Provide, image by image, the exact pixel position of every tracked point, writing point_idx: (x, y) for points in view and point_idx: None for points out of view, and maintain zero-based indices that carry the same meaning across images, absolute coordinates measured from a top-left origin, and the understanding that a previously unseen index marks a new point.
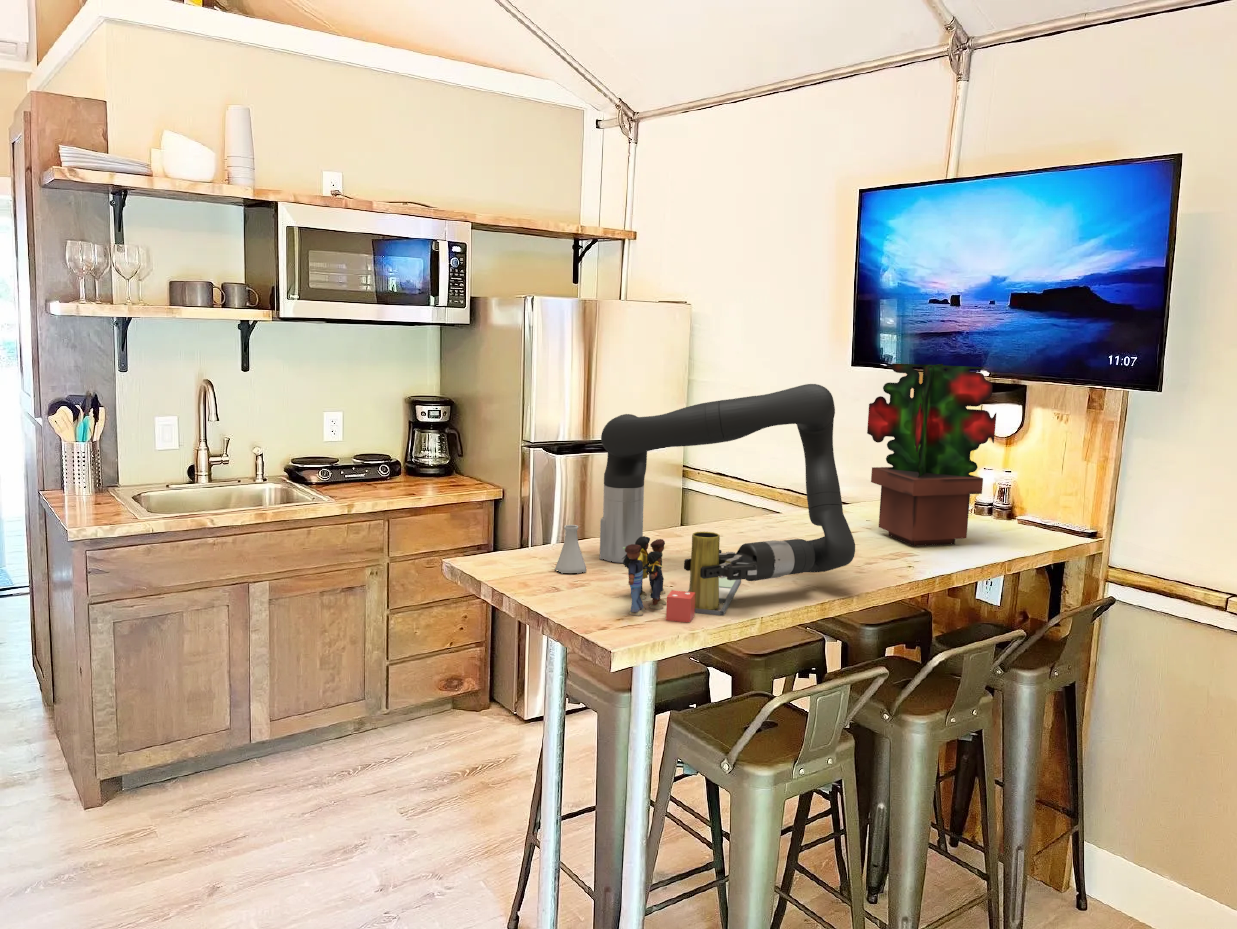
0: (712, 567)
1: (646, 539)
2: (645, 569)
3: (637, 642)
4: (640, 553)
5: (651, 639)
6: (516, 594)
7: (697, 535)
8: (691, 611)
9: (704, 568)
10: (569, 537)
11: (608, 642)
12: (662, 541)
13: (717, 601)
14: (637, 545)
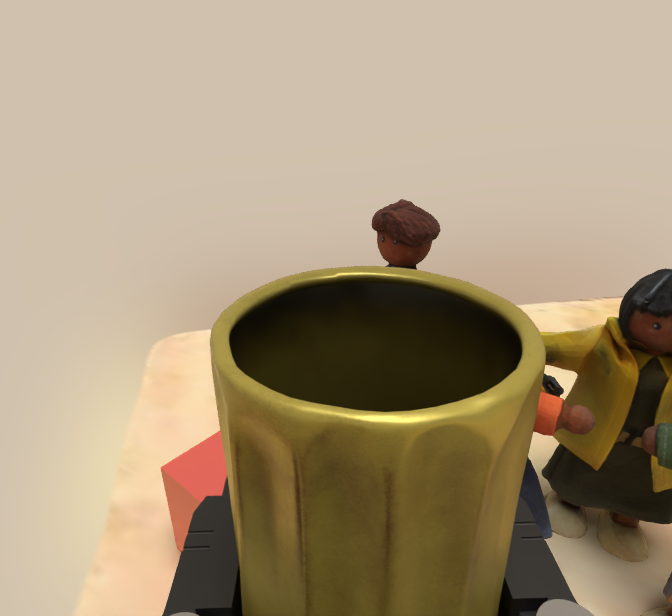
0: (212, 547)
1: (655, 286)
2: (600, 427)
3: (151, 372)
4: (590, 330)
5: (142, 397)
6: (581, 310)
7: (500, 339)
8: (186, 532)
9: (227, 484)
10: None
11: (195, 339)
12: None
13: None
14: (395, 209)
